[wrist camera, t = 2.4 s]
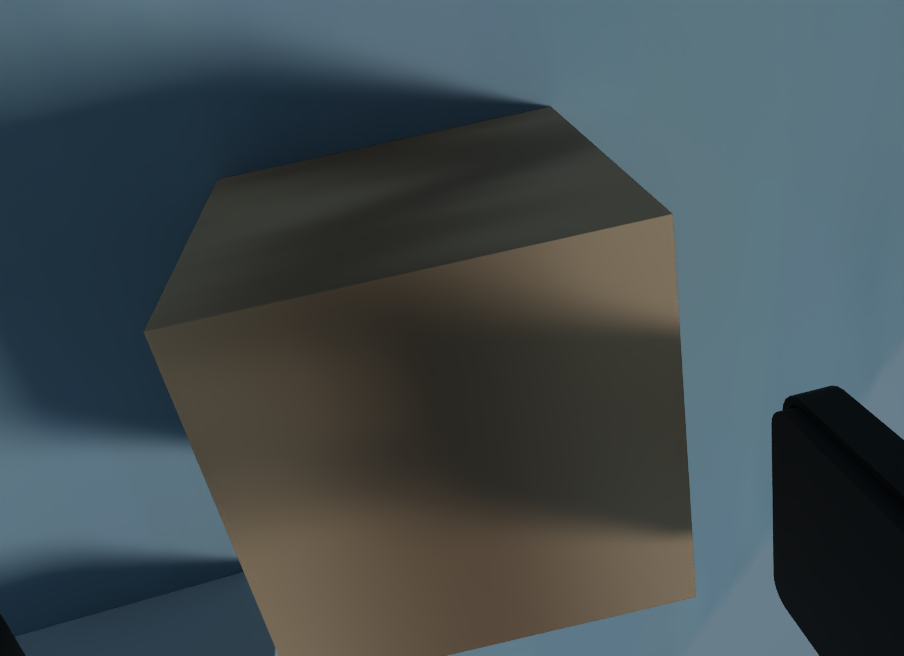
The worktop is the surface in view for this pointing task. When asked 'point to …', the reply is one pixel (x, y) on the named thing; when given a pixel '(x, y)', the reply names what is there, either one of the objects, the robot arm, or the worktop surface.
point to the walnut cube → (437, 389)
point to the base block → (165, 626)
